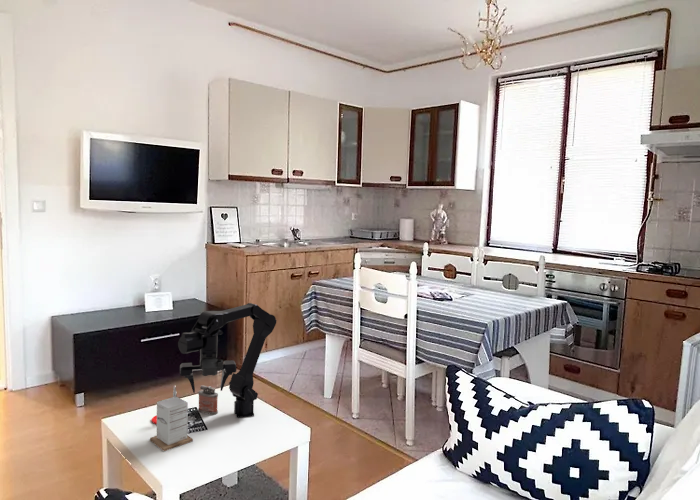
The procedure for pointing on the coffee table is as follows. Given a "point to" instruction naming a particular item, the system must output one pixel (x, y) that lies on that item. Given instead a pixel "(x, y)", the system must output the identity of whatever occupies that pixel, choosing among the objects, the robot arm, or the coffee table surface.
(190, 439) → the walnut plate
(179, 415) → the supplement box
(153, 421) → the tow hook
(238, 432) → the coffee table surface
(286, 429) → the coffee table surface
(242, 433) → the coffee table surface
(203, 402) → the red-brown boxy piece
